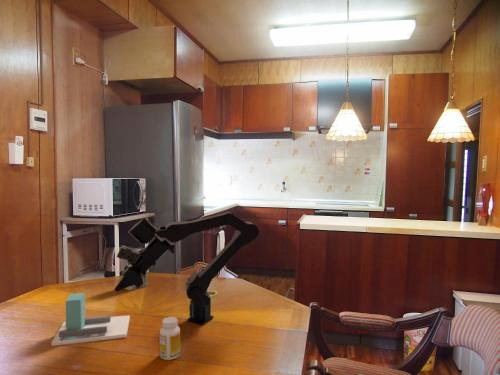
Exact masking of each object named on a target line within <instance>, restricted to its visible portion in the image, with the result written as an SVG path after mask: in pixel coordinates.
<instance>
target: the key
mask: <svg viewBox="0 0 500 375" xmlns="http://www.w3.org/2000/svg"><path fill="white" fill-rule="evenodd" d="M209 288H210V287H208V289H207V291H208V294H209V296H210V298H214V297H217V296H218V292H217V291H216V290H210V289H209Z"/></svg>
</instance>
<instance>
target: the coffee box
mask: <svg viewBox="0 0 500 375" xmlns="http://www.w3.org/2000/svg"><path fill="white" fill-rule="evenodd" d="M145 248H146V247H145ZM145 248H144V247H136V248H135V247H134V248H133V249H135V250H137V251H140V250H141V249H145ZM126 265H127V266H129V265H130V262H129V263H128V262H127V260H125V259H122V258H121V278H122V277H123V273H124V269H125V266H126ZM148 272H149V270H148V271H147V274H146V275H145V276H144V275H143V274H142V275H143V276H144V281H143V284H142V285H141V286H140V287H139V288H137V287H136V286H135V285H132V286H129V287H127V288H125V289H124V290H127V291H133V290H136V289H140V288H143V287H147V286H149V280H148V279H149V278H148V274H149V273H148Z"/></svg>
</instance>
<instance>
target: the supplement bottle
mask: <svg viewBox="0 0 500 375" xmlns="http://www.w3.org/2000/svg"><path fill="white" fill-rule="evenodd" d="M178 320H179V319H178V318H177V317H174V316H169V317H165V318H163V319H162V322H161V323H162V327H161V328H160V329H159V356H160V358H161V359H162V360H165V361H170V360H174V359H177V358H179V357H180V356H181V328H180V326H179V325H178V324H179V323H178Z"/></svg>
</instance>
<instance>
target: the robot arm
mask: <svg viewBox="0 0 500 375" xmlns="http://www.w3.org/2000/svg"><path fill="white" fill-rule="evenodd" d="M227 225H229V226H230V227H232V228H233V229H235V232H234V233H233V236H232V238H231V240H230V241H229V242H227V244H226V245H225V246H224V247H223V248H222V249H221V250H220V251H219V252H218V253H217V255H216V256H215V257H214V258H213V259H212V260H211V261H210V262H209V263H208V264H207V265H206V266H205V267H204V268H203V269H202V270H201V271H199V272H197V270H194V271H193V272H192V274H191V275H190V276H189V277H187V278H186V282H185V284H184V285H185V286H184V288H185V293H186V296H187V298H188V299H189V300H190V303H189V309H188V310H189V317H188V318H187V321H188V322H190V323H191V322H192V323H195V324H199V325H205V324H206V323H207V322H209V321H210V320H212V319H214V315H211V312H212V311H211V310H212V306H211V303H212V302H211V301H212V297H210V294H208V291H207V289H208V288H210V285H211V283H212V281H213V279H214V278H215V277H216V276H217V275H218V274H219V273H220V272H221V271H222V270H223V268H224V267H225V266H227V264H229V262H230V261H231V260H232V259H233V258H234V257H235V256H236V255H237V253H238V252H239V251H240V250H241V249H242V248H245V247H246V246H248V245H250V244H251V243H252V242H254V241H256V239H257V238H258V237H259V236H260V230H259V228H258V226H257V225H256V224H254V223H252V222H250V221H247V220H246V221H243V220H242V219H240V218H238V217H237V216H236V215H234V214H233V213H232V212H230V211H224V212H223V213H219V214H214V215H211V216H206V217H202V218H197V219H195V220H189V221H186V220H185V221H183V220H182V221H171V222H169V223H166V225H165V226H158V227H155V226H154V224H152V223H151V222H150V221H149V219H147V217H145V216H144V217H143V218H142V219H140V220H139V221H138V222H136V223H135V224H134V225H133V226H132V227H131V228H130V230H129V231H127V232H128V234H129V235H131V237H132V238H134V239H135V240H136V241H137V242H138V243H139V244H140V245H143V244H144V245H147V246H145V249H141V250H140V251H137V250H135V249H134V248H132V247H130V246H128V245H127V246H126V245H124V244H122V245H121V246H120V248H119V251H118V252H117V254H116V258H118V259H120V260H122V259H125V260H127V262H128V263H129V262H130V265H129V266H127V265H126V266H125V269H124V273H123V277H122V276H121V278H120V280H119V281H118V283H117V285H115V288H114V291H115V292H120V291H121V290H126V289H125V288H127V287H129V286H132V285H135V286H136V287H137V289H140V288H139V287H140V286H141V285H142V284H143V281H144V276H145V275H146V274H147V271H148V272H149V270H150V269H151V268H152V267H153V266H154V267H155V266H156V265H157V262H158V261H159V260H160V259H161V258H162V257H163V256H164V255H165V254H166V253H167V252H168V251H169V252H170V253H172V254H175V247H176V246H175V245H176V244H175V243H177V242H180V241H181V240H184V239H186V238H188V237H190V236H191V235H193V234H196V233H202V232H203V231H208V230H211V229H216V228H220V227H223V226H224V227H225V226H227ZM152 239H153V240H152ZM170 242H171V243H170ZM142 274H143V275H144V276H143V275H142Z"/></svg>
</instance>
